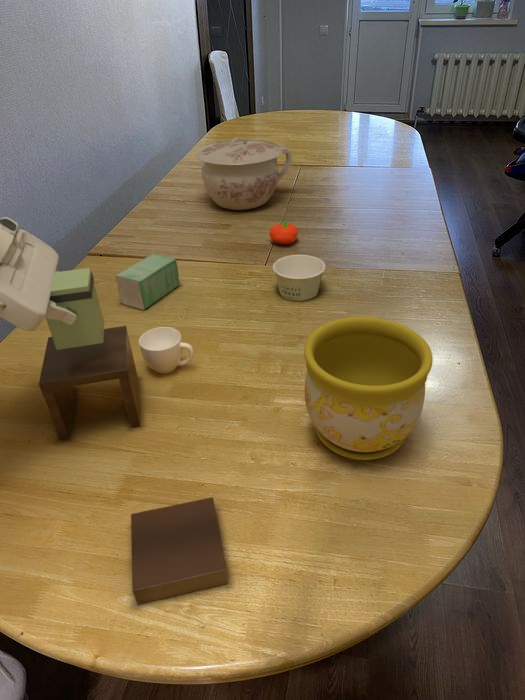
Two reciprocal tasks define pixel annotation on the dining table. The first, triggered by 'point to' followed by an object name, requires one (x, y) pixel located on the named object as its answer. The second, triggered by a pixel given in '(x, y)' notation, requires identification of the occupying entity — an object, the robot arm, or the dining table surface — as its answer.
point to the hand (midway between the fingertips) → (76, 306)
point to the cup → (164, 349)
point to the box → (147, 281)
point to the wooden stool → (88, 375)
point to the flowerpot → (365, 384)
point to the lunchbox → (76, 309)
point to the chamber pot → (242, 171)
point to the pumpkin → (283, 233)
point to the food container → (299, 276)
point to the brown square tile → (176, 551)
